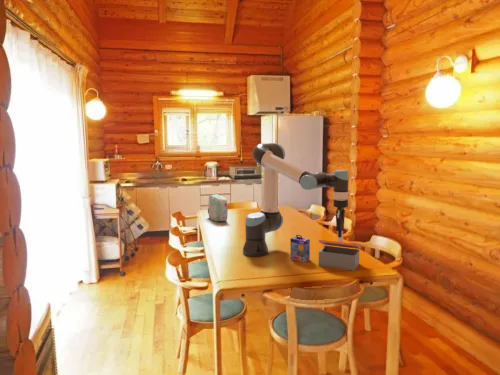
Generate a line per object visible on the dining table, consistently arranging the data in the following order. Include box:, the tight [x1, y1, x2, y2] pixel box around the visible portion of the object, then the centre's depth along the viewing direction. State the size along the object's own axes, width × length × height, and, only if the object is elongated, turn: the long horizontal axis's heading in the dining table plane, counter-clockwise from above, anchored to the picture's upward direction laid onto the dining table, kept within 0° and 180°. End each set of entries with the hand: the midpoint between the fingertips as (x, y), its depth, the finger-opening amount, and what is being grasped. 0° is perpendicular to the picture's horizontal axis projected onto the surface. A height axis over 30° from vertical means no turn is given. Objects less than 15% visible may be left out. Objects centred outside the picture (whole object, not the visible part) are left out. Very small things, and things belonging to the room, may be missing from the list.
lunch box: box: [207, 193, 229, 223], centre depth 318 cm, size 27×10×21 cm, turn 25°
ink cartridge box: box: [289, 234, 311, 263], centre depth 213 cm, size 10×6×14 cm, turn 51°
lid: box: [318, 239, 362, 250], centre depth 204 cm, size 20×12×1 cm, turn 64°
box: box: [318, 245, 360, 272], centre depth 204 cm, size 19×12×8 cm, turn 64°
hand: (340, 242), depth 204 cm, fingers closed
